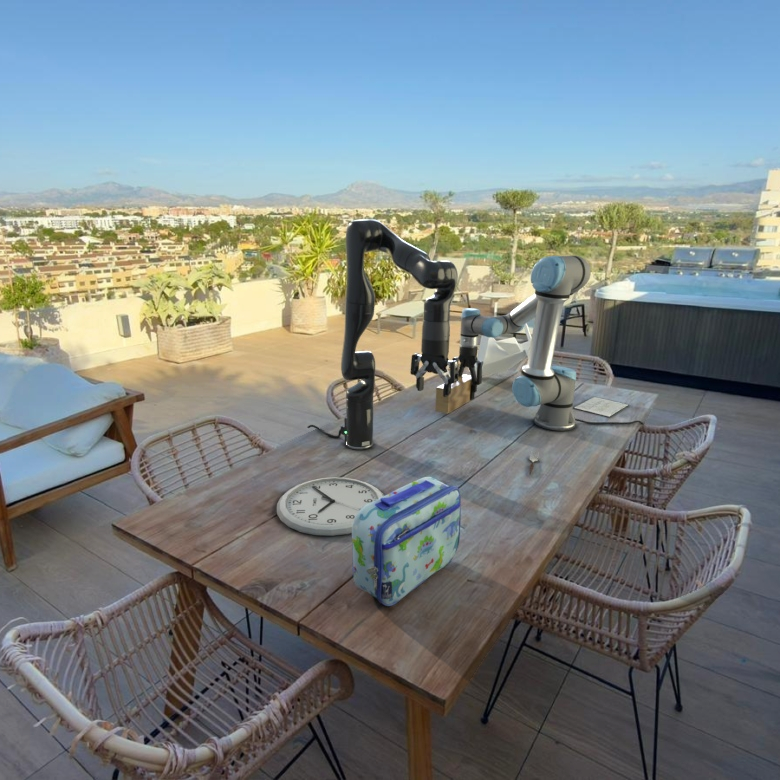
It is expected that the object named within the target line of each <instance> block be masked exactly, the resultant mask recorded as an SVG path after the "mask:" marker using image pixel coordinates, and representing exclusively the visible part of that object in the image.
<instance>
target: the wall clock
mask: <svg viewBox="0 0 780 780" xmlns="http://www.w3.org/2000/svg"><path fill="white" fill-rule="evenodd" d="M383 496H385V494H384V493H383V492H382V491H381V490H380V489H379V488H377V487H376V486H374V485H372V484H371V483H369V482H365V481H362V480H359V479H355V478H349V477H338V476H337V477H335V476H333V477H332V476H331V477H322V478H317V479H312V480H307V481H305V482H302V483H299V484H297V485H295V486H293V487H292V488H290V489H288V490H287V491H286V492H285V493H284V494H283V495H281V496H280V498H279V499H278V502H277V503H276V515H277V517H278V518H279V520H280V521H281V522H282V523H283V524H285V525H286V526H287V527H288V528H290V529H293V530H295V531H297V532H299V533H303V534H308V535H312V536H327V537H328V536H329V537H331V536H332V537H333V536H342V535H350V534H352V526H353V521H354V518H355V516H356V515H357V513H358V512H359V510H360V509H361V508H362V507H364V506H365V505H367V504H369V503H371V502H373V501H375V500H377V499H379V498H381V497H383Z"/></svg>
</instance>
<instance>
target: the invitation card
mask: <svg viewBox="0 0 780 780" xmlns="http://www.w3.org/2000/svg"><path fill="white" fill-rule="evenodd" d="M628 406H629V404H627V403H623V402H618V401H614V400H609V399H605V398H601V397H596V396H593V397H592V398H590V399H588V400H586V401H584V402H582V403H580V404H578V405H575V406H574V407H573V409H575V410H581V411H584V412H587V413H593V414H596V415H600V416H604V417H608V418H609V417H611V416H613V415H614V414H616V413H617V412H619V411H621V410H623V409H624V408H626V407H628Z"/></svg>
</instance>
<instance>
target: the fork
mask: <svg viewBox="0 0 780 780" xmlns="http://www.w3.org/2000/svg"><path fill="white" fill-rule="evenodd" d="M538 460H539V453H537V452H535V451H533V450H531V452H530V456H529V461H531V463H530V465H529V475H531V474H532V472H533V470H534V462H538Z"/></svg>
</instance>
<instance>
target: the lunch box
mask: <svg viewBox="0 0 780 780" xmlns="http://www.w3.org/2000/svg"><path fill="white" fill-rule="evenodd" d="M461 499H462V497H461V491H460V489H459V488H458V487H457V486H455V485H450V486H449V485H447V484H445V483H444V482H442V481H440V480H438V479H436V478H434V477H432V476H424V477H421V478H419V479H416V480H414V481H412V482H410V483H407V484H405V485H404V486H401V487H399V488H397V489H395V490H392V491H391V492H390V493H386V494H384V496H383V497H381V498H379V499H377V500H375V501H373V502H371V503H369V504H367V505H365V506H364V507H362V508H361V509H360V510H359V512H358V513H357V515H356V516H355V518H354V521H353V526H352V533H351V550H352V576H353V581H354V584H355V587H356V588H358V589H360V590H362V591H364V592H366V593H368V594H370V596H372V597H374V598H375V599H377V601H378V603H379V604H382V605H383V606H385V607H393V606H394V605H396V604H397V603H399V602H400V601H402V599H404V598H405V597H406V596H407V595H409V594H410V593H411V592H413V591H414V590H415V589H416V588H418V587H419V586H420V585H422V584H423V583H424V582H425V581H427V580H428V579H429V578H430V577H432V575H434V574H435V573H437V572H439V571H441V570H442V569H443V568H445V567H446V566H448V565H449V564H450V562H452V560H453V559H454V557H455V555H456V553H457V551H458V549H459V544H460V537H461V519H462V515H461V513H462V512H461V510H462V507H461V505H462V504H461V503H462V502H461Z"/></svg>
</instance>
